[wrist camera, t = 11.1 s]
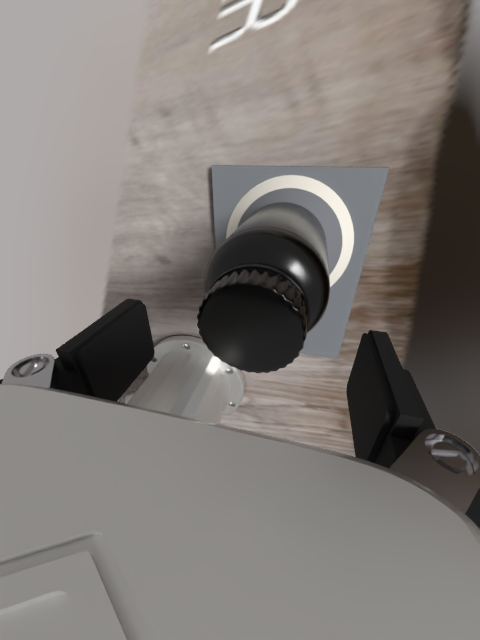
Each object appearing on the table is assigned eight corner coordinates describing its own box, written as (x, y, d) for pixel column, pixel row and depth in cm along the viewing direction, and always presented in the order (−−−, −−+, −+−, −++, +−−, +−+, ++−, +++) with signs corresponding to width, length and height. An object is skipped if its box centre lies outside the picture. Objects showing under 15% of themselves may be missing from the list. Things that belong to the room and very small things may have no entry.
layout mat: (337, 355, 26) (337, 360, 25) (221, 336, 28) (219, 340, 28) (387, 167, 17) (389, 168, 16) (214, 165, 20) (210, 165, 19)
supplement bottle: (225, 251, 22) (149, 328, 12) (277, 179, 18) (226, 207, 8) (285, 301, 23) (260, 409, 13) (347, 242, 19) (374, 333, 9)
